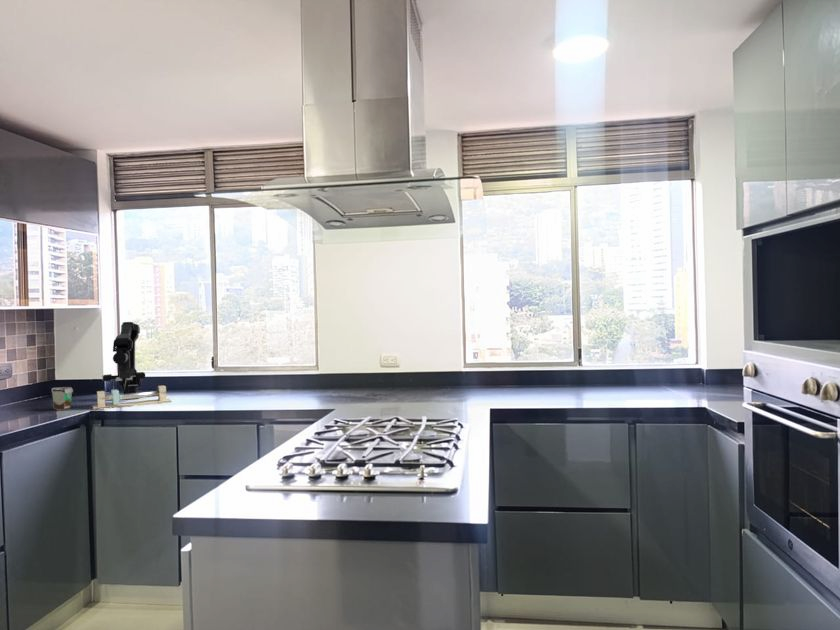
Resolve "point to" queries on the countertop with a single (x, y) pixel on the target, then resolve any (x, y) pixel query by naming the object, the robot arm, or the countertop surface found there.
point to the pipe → (133, 395)
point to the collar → (115, 396)
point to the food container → (62, 398)
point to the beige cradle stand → (160, 399)
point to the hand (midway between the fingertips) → (124, 393)
